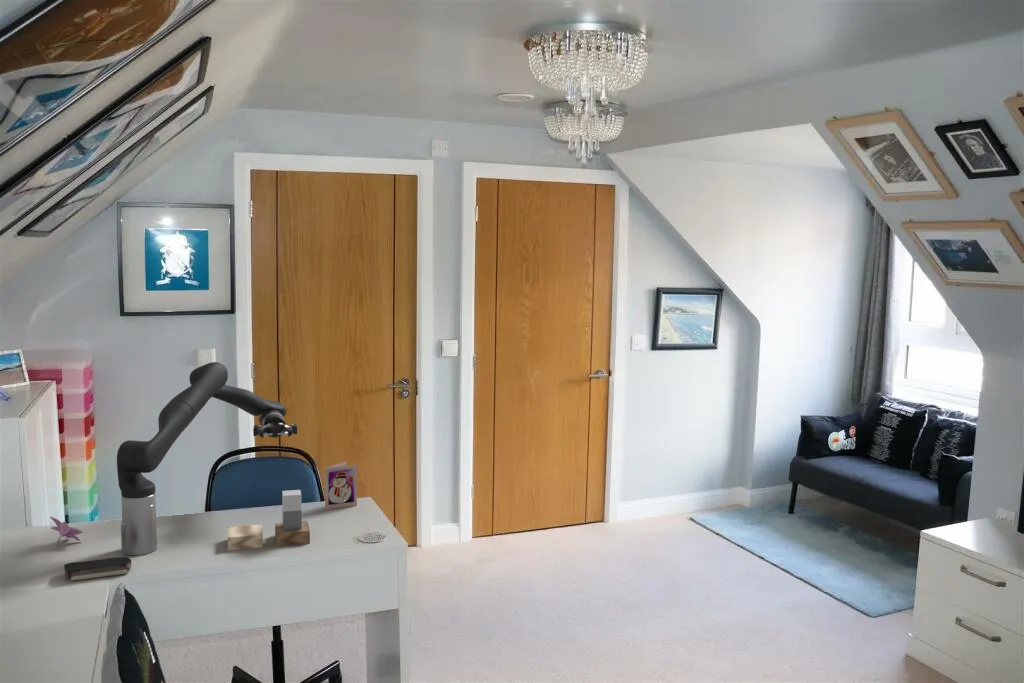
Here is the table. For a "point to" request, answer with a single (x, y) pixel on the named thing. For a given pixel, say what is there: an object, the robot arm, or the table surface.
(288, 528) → the block
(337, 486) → the greeting card
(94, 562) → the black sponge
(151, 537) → the robot arm
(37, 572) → the table surface
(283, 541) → the walnut stand
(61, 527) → the lily
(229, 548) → the birch stand
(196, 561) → the table surface
